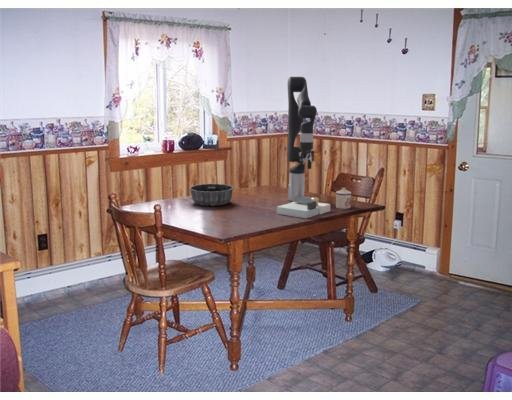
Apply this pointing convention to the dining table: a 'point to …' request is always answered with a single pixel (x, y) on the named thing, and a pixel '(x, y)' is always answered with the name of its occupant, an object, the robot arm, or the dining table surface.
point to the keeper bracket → (311, 205)
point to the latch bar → (305, 199)
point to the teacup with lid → (343, 199)
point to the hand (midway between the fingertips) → (305, 169)
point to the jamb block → (319, 207)
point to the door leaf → (296, 210)
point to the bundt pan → (211, 194)
